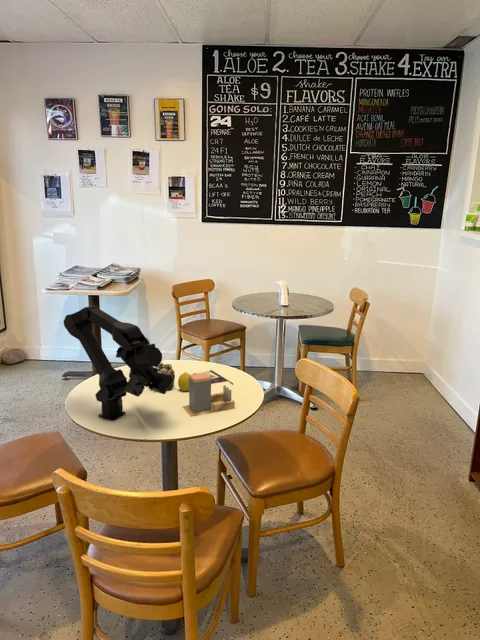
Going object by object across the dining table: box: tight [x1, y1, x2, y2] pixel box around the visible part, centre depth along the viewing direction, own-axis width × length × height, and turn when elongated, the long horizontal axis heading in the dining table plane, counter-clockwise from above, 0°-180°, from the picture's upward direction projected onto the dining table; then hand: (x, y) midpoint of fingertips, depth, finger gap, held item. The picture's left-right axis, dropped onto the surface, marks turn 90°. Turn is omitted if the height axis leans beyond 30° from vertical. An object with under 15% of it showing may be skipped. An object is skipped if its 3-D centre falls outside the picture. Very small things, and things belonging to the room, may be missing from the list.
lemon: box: [177, 372, 191, 392], centre depth 177 cm, size 6×6×8 cm
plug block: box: [188, 372, 212, 413], centre depth 160 cm, size 6×5×12 cm
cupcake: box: [153, 362, 176, 393], centre depth 180 cm, size 10×10×10 cm
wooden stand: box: [181, 384, 236, 418], centre depth 162 cm, size 16×9×7 cm, turn 116°
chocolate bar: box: [193, 369, 234, 386], centre depth 191 cm, size 9×1×18 cm
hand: (164, 393), depth 156 cm, fingers closed
